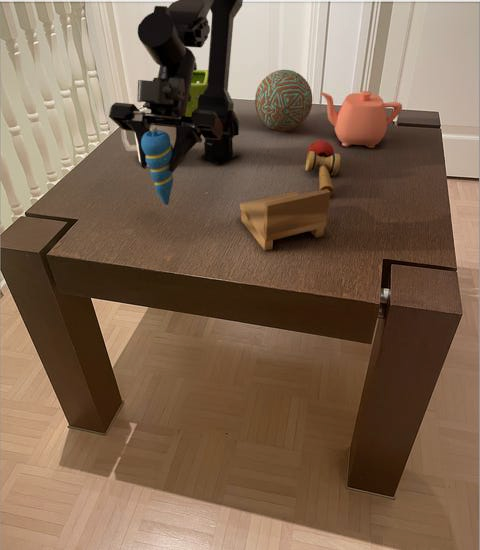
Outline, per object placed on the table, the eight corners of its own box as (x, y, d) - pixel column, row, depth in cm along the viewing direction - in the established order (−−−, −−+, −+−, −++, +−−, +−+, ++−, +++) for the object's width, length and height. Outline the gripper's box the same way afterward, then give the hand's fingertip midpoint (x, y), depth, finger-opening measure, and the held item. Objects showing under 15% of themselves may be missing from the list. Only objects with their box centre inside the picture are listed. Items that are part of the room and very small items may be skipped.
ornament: (174, 213, 81) (164, 131, 71) (147, 210, 81) (133, 129, 72) (183, 198, 85) (174, 118, 75) (156, 195, 85) (144, 116, 76)
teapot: (316, 128, 124) (321, 81, 117) (392, 132, 122) (401, 85, 114) (315, 148, 114) (320, 99, 107) (397, 153, 112) (408, 103, 104)
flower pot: (209, 133, 122) (207, 84, 114) (157, 133, 123) (151, 84, 115) (212, 114, 133) (210, 68, 125) (165, 114, 133) (160, 68, 125)
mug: (121, 167, 107) (112, 122, 100) (129, 148, 115) (122, 106, 108) (178, 166, 107) (174, 122, 100) (183, 148, 115) (179, 106, 108)
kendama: (347, 202, 96) (337, 155, 109) (346, 178, 92) (336, 131, 104) (310, 207, 98) (304, 159, 110) (307, 183, 93) (302, 136, 105)
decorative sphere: (273, 114, 132) (275, 59, 123) (319, 126, 126) (325, 68, 116) (243, 131, 123) (243, 73, 114) (291, 144, 116) (295, 83, 107)
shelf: (240, 218, 90) (239, 174, 83) (294, 206, 93) (297, 163, 87) (265, 252, 81) (267, 206, 75) (324, 237, 84) (330, 191, 78)
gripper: (102, 51, 72) (82, 146, 71) (214, 58, 68) (195, 159, 67) (132, 86, 83) (115, 169, 82) (230, 94, 79) (214, 181, 78)
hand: (157, 169), depth 77 cm, fingers closed on ornament, 5 cm apart
